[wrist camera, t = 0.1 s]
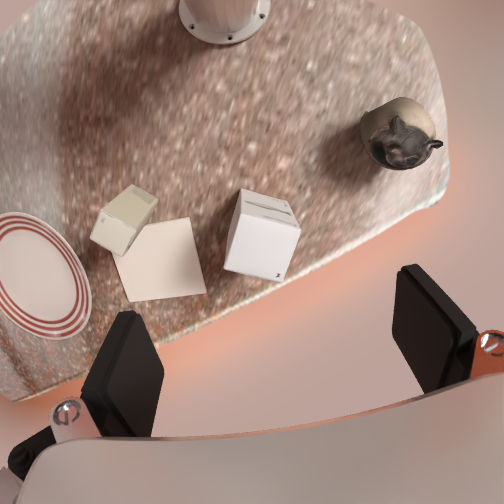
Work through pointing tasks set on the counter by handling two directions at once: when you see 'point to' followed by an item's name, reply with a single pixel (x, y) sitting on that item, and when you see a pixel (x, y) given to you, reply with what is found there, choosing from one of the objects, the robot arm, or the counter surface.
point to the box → (123, 219)
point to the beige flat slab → (162, 263)
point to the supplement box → (261, 237)
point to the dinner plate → (41, 279)
